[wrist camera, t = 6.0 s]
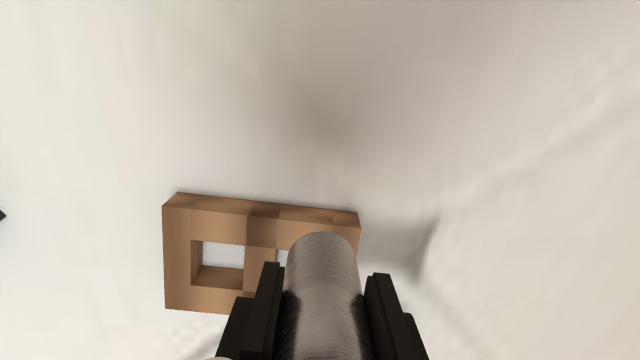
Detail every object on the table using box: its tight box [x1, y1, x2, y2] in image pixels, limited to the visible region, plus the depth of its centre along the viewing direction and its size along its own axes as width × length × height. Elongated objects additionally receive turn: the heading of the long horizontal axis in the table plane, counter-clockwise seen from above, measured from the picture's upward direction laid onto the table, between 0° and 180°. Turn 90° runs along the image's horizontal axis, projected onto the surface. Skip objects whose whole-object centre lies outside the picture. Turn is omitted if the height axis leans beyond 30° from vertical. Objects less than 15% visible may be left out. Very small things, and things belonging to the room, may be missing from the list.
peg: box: [272, 231, 376, 360], centre depth 10 cm, size 3×3×10 cm
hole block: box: [162, 192, 361, 315], centre depth 29 cm, size 16×10×3 cm, turn 83°
